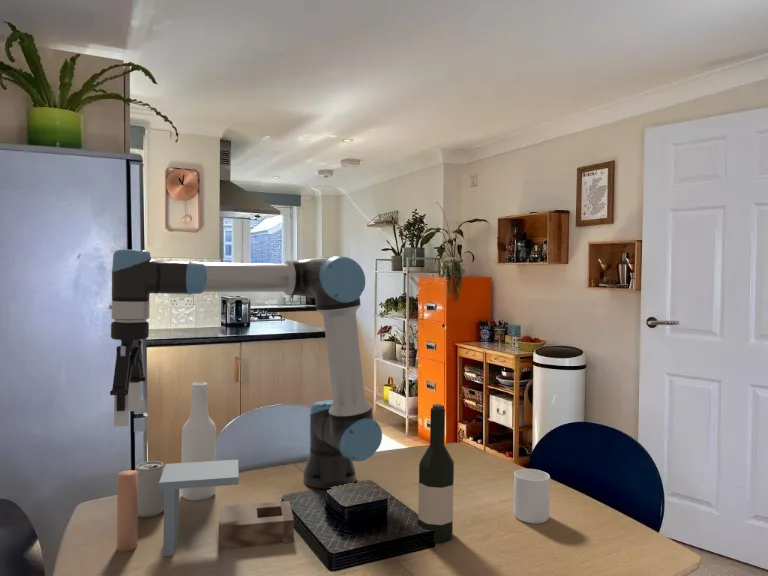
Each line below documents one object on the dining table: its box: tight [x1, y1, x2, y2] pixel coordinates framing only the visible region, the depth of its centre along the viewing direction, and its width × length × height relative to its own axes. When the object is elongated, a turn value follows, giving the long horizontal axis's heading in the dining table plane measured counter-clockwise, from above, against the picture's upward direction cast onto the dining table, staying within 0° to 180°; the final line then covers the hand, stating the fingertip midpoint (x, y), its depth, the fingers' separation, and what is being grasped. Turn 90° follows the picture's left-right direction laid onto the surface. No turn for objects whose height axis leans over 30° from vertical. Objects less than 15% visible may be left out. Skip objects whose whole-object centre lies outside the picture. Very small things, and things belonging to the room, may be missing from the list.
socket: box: [217, 500, 295, 551], centre depth 129 cm, size 16×11×5 cm
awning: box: [159, 459, 240, 557], centre depth 126 cm, size 16×12×16 cm
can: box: [134, 460, 165, 519], centre depth 140 cm, size 8×8×12 cm
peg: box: [116, 469, 139, 553], centre depth 122 cm, size 4×4×16 cm
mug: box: [513, 468, 551, 525], centre depth 143 cm, size 9×12×11 cm
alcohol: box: [180, 381, 217, 502], centre depth 151 cm, size 9×9×30 cm
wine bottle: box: [417, 403, 455, 544], centre depth 130 cm, size 8×8×30 cm
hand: (128, 418), depth 124 cm, fingers open, 13 cm apart
